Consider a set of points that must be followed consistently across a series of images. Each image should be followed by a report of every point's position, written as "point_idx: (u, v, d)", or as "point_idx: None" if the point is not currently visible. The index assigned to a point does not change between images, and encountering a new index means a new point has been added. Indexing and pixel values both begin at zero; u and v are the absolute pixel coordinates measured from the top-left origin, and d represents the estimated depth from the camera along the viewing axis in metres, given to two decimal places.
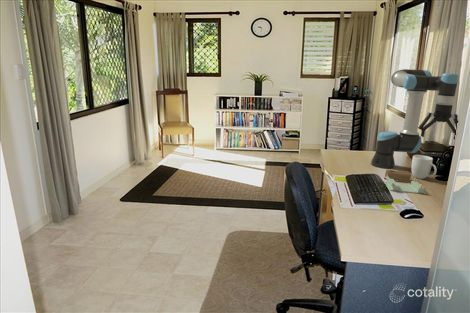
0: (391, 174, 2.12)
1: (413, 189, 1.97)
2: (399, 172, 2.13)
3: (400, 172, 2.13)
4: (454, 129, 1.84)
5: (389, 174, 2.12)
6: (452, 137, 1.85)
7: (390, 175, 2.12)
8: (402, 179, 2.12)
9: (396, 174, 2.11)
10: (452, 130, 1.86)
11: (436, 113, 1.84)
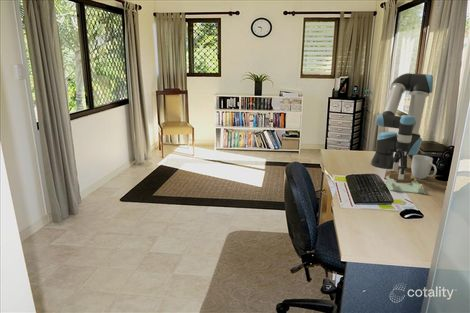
0: (393, 175, 2.11)
1: (413, 189, 1.97)
2: None
3: None
4: (401, 164, 2.06)
5: (391, 175, 2.11)
6: (399, 171, 2.07)
7: (392, 176, 2.11)
8: (403, 179, 2.12)
9: (397, 174, 2.11)
10: (404, 166, 2.06)
11: (398, 148, 2.13)
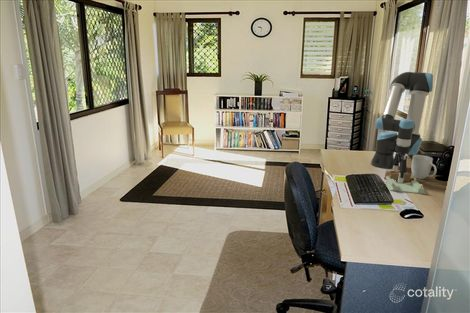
0: (394, 175, 2.11)
1: (413, 189, 1.97)
2: None
3: None
4: (400, 168, 2.06)
5: (392, 175, 2.11)
6: None
7: (393, 176, 2.11)
8: None
9: (398, 174, 2.11)
10: None
11: (398, 152, 2.14)
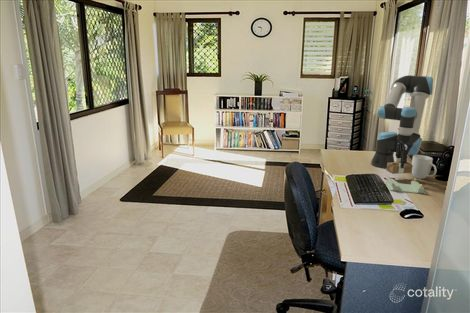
0: (396, 167, 2.10)
1: (413, 189, 1.97)
2: None
3: None
4: (401, 158, 2.08)
5: (394, 167, 2.09)
6: (399, 165, 2.10)
7: (395, 168, 2.10)
8: (405, 170, 2.12)
9: None
10: None
11: (400, 140, 2.12)
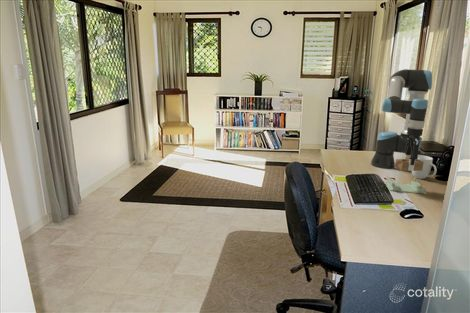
0: (405, 163, 1.92)
1: (413, 189, 1.97)
2: None
3: None
4: (411, 154, 1.90)
5: (403, 164, 1.92)
6: (409, 162, 1.92)
7: (404, 165, 1.92)
8: (415, 168, 1.94)
9: None
10: None
11: (409, 135, 1.95)
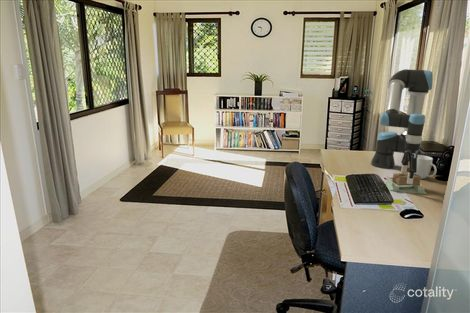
0: (403, 178, 1.94)
1: (413, 189, 1.97)
2: None
3: None
4: (409, 168, 1.90)
5: (401, 178, 1.94)
6: (408, 175, 1.92)
7: (402, 179, 1.95)
8: None
9: (407, 178, 1.95)
10: None
11: (407, 149, 1.97)
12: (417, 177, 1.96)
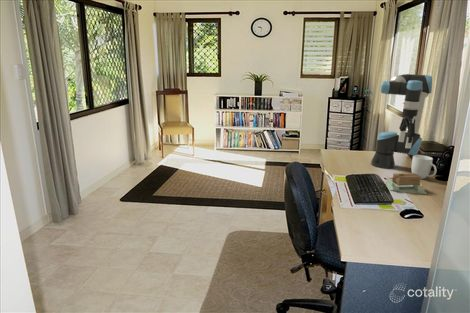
0: (403, 178, 1.94)
1: (413, 189, 1.97)
2: (408, 175, 1.97)
3: (409, 175, 1.98)
4: (408, 133, 1.96)
5: (401, 178, 1.94)
6: (406, 140, 1.98)
7: (402, 179, 1.95)
8: (412, 182, 1.96)
9: (407, 178, 1.95)
10: (411, 134, 1.97)
11: (405, 116, 2.03)
12: (417, 177, 1.96)
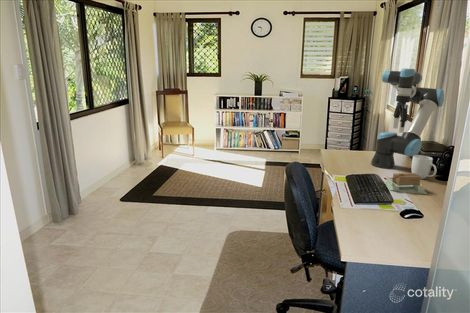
0: (403, 178, 1.94)
1: (413, 189, 1.97)
2: (408, 175, 1.97)
3: (409, 175, 1.98)
4: (401, 117, 2.07)
5: (401, 178, 1.94)
6: None
7: (402, 179, 1.95)
8: (412, 182, 1.96)
9: (407, 178, 1.95)
10: None
11: (399, 102, 2.14)
12: (417, 177, 1.96)
